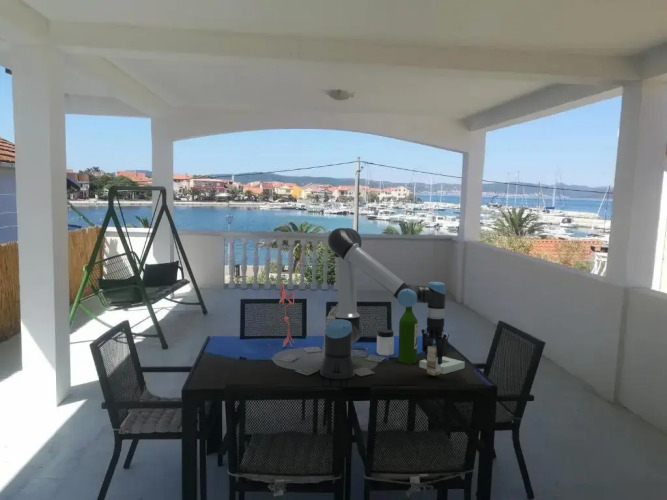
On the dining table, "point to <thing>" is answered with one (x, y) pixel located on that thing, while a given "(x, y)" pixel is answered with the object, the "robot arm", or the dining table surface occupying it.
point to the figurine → (283, 295)
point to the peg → (432, 360)
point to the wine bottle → (408, 337)
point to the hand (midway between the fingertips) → (433, 369)
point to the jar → (385, 342)
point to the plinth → (446, 365)
